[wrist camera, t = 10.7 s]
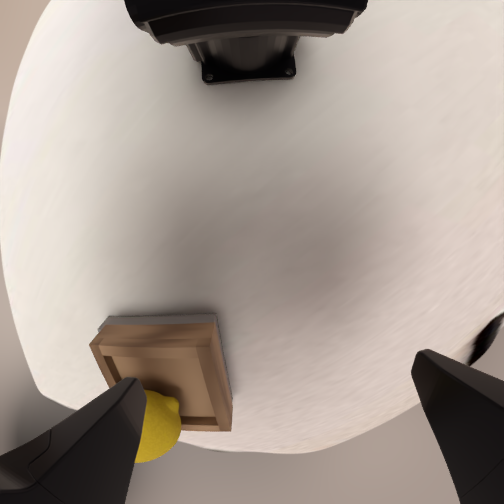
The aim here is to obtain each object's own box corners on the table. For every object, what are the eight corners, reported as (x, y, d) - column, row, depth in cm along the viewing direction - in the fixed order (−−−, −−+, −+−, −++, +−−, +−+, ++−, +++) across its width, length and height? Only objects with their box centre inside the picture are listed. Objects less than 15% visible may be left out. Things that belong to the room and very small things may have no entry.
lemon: (213, 436, 16) (142, 481, 14) (183, 389, 21) (122, 433, 18) (168, 414, 13) (89, 466, 11) (142, 358, 17) (76, 409, 15)
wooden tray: (215, 322, 19) (209, 346, 16) (232, 406, 21) (231, 431, 18) (105, 324, 19) (89, 344, 16) (139, 403, 22) (130, 424, 19)
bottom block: (217, 308, 22) (212, 328, 19) (232, 393, 25) (231, 414, 22) (111, 312, 22) (97, 329, 19) (142, 391, 25) (134, 410, 22)
